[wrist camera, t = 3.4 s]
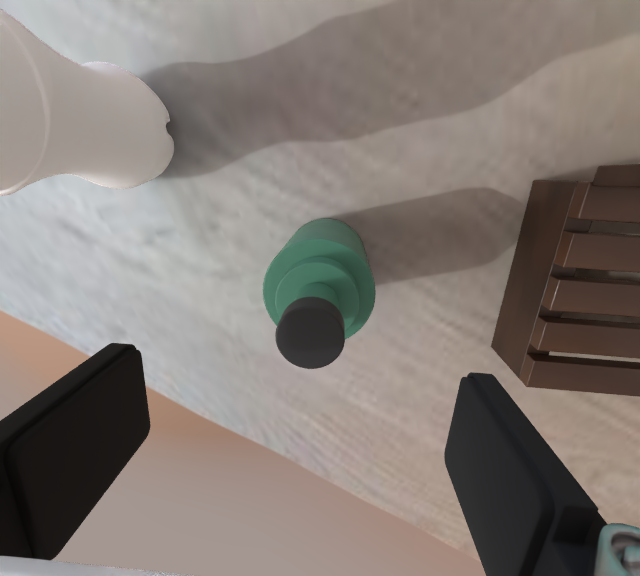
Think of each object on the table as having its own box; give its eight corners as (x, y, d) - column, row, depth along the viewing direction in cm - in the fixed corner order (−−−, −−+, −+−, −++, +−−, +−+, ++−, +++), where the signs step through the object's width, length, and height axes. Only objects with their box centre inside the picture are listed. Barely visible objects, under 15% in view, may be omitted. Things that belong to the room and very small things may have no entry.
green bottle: (288, 215, 25) (230, 258, 12) (368, 221, 24) (398, 270, 12) (286, 291, 26) (235, 397, 14) (360, 296, 26) (378, 410, 13)
